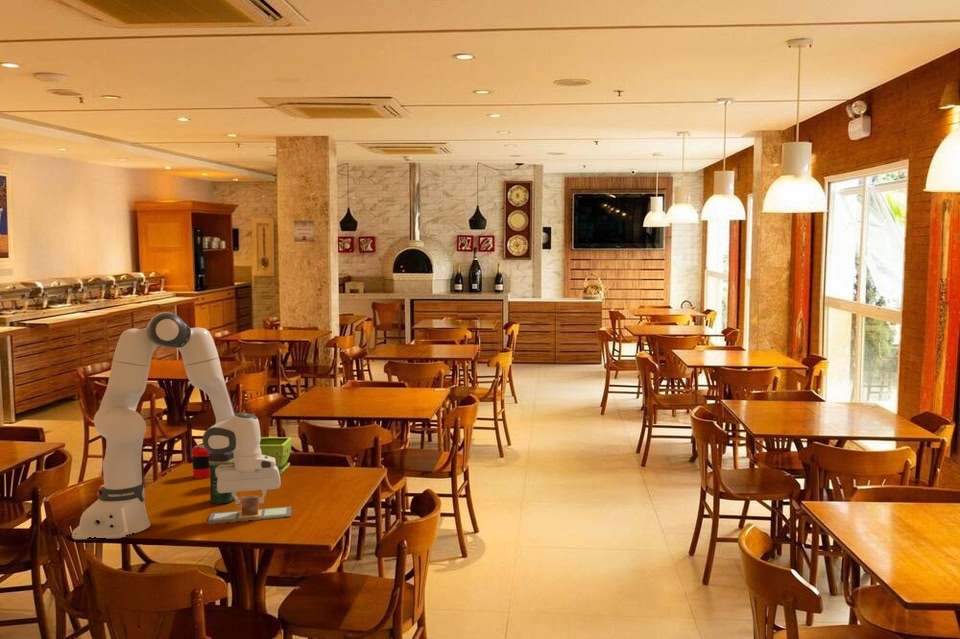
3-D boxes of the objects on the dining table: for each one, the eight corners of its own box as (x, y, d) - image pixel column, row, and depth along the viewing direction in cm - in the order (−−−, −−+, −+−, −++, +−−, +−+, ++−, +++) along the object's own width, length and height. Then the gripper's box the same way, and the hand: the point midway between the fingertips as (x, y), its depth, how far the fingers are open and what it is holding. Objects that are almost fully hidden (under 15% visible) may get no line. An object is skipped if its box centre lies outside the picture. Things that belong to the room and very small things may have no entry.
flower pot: (248, 477, 325) (247, 445, 324) (259, 468, 339) (258, 437, 338) (284, 476, 325) (283, 444, 324) (294, 467, 339) (292, 436, 338)
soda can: (189, 478, 326) (187, 447, 326) (202, 473, 333) (200, 443, 332) (204, 479, 324) (202, 448, 323) (217, 474, 330) (216, 444, 330)
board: (207, 524, 269) (207, 522, 269) (210, 515, 278) (210, 512, 278) (290, 517, 274) (290, 514, 274) (291, 508, 284) (291, 505, 284)
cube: (242, 515, 274) (241, 500, 274) (243, 511, 279) (242, 496, 279) (257, 514, 275) (257, 499, 275) (258, 510, 280) (257, 495, 280)
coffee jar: (228, 505, 289) (226, 451, 288) (207, 504, 290) (204, 451, 289) (241, 496, 299) (238, 445, 297) (220, 496, 300) (217, 445, 299)
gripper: (213, 467, 271) (216, 509, 272) (279, 462, 275) (281, 503, 276) (215, 462, 277) (217, 503, 278) (279, 457, 281) (281, 498, 282)
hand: (249, 503), depth 277 cm, fingers open, 6 cm apart
